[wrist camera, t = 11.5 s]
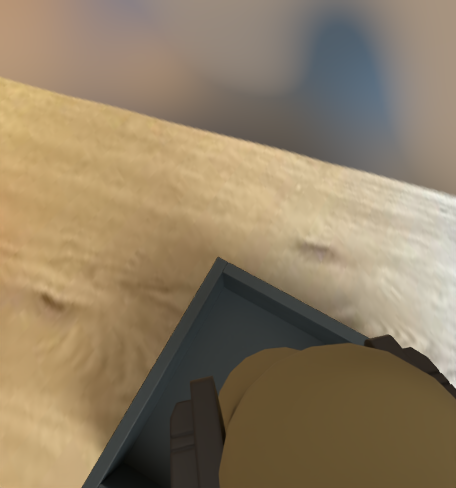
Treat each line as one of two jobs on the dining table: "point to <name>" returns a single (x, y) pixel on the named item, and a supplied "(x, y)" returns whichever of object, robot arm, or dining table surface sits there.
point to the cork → (335, 421)
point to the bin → (207, 365)
